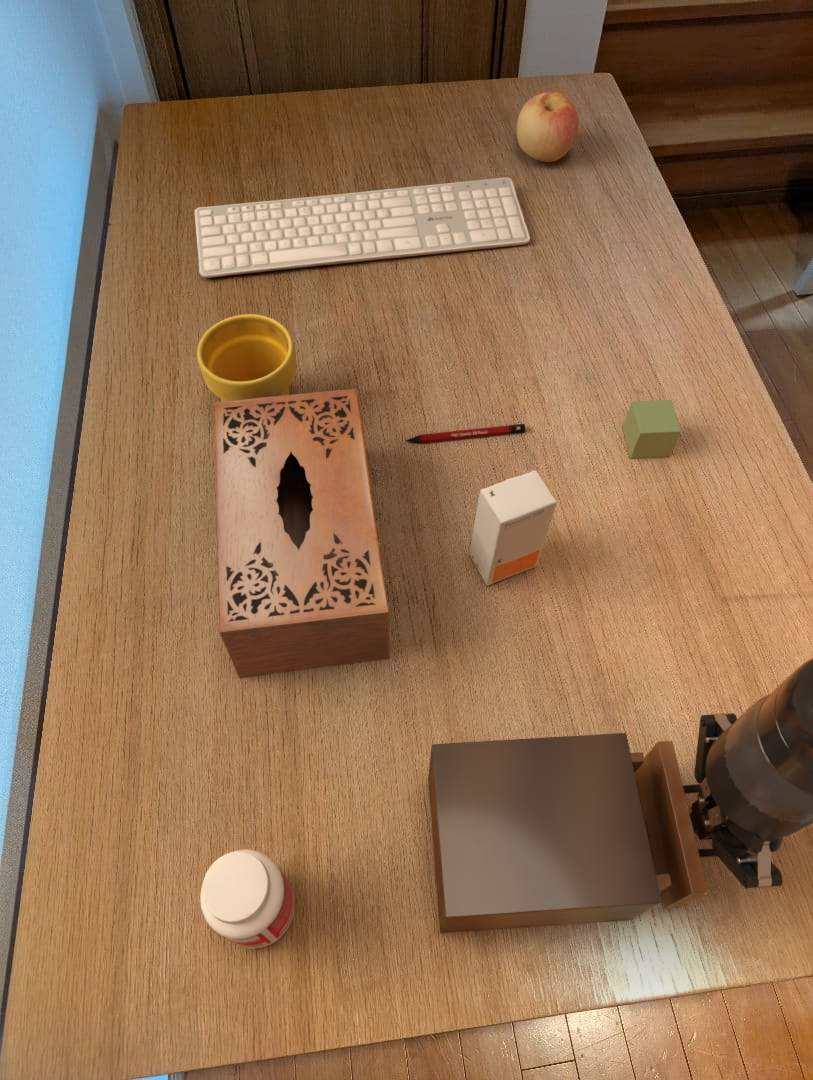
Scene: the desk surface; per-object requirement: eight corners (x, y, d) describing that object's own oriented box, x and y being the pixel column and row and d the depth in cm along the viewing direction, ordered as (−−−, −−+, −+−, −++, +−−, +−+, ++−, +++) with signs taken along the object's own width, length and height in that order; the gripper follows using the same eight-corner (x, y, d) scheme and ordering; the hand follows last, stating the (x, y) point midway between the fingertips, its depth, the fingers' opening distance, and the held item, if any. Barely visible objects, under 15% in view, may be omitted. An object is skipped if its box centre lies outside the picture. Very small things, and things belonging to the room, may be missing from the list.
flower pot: (196, 423, 94) (176, 363, 86) (243, 364, 99) (229, 301, 91) (274, 455, 92) (262, 396, 84) (318, 392, 97) (311, 330, 88)
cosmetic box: (486, 588, 83) (499, 524, 73) (468, 555, 85) (477, 488, 75) (539, 567, 84) (558, 501, 74) (519, 535, 87) (536, 467, 76)
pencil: (403, 440, 93) (403, 435, 92) (522, 427, 94) (524, 422, 94) (404, 446, 93) (404, 441, 92) (524, 433, 94) (525, 428, 93)
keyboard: (201, 282, 106) (197, 267, 104) (197, 221, 113) (193, 206, 111) (530, 246, 111) (533, 231, 109) (509, 189, 117) (511, 174, 115)
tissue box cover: (231, 462, 91) (214, 402, 83) (360, 448, 92) (356, 388, 84) (239, 677, 78) (219, 632, 69) (389, 658, 79) (388, 612, 70)
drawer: (699, 765, 73) (729, 737, 66) (734, 903, 67) (771, 888, 60) (485, 778, 72) (493, 751, 66) (500, 919, 66) (512, 905, 60)
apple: (558, 132, 125) (567, 79, 118) (582, 166, 120) (592, 113, 113) (504, 142, 123) (510, 89, 116) (526, 177, 119) (534, 124, 112)
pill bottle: (274, 853, 70) (255, 823, 60) (309, 920, 67) (294, 900, 57) (207, 895, 68) (176, 870, 58) (240, 966, 65) (213, 952, 56)
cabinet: (601, 767, 74) (626, 732, 65) (629, 920, 67) (661, 903, 59) (428, 777, 73) (431, 744, 65) (439, 933, 66) (445, 917, 58)
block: (660, 425, 95) (671, 399, 91) (669, 456, 92) (681, 431, 88) (622, 427, 94) (631, 401, 91) (630, 458, 92) (640, 433, 88)
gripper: (882, 867, 49) (769, 909, 63) (811, 661, 56) (724, 742, 70) (758, 875, 48) (674, 915, 63) (702, 667, 55) (638, 747, 70)
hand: (700, 824), depth 67 cm, fingers closed
